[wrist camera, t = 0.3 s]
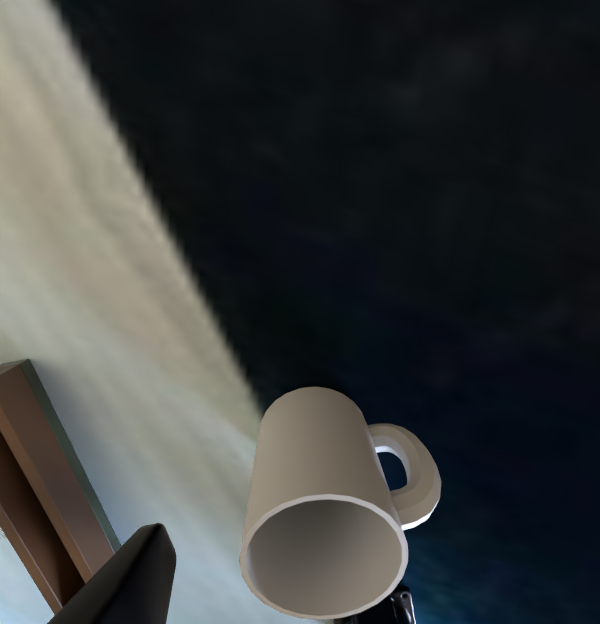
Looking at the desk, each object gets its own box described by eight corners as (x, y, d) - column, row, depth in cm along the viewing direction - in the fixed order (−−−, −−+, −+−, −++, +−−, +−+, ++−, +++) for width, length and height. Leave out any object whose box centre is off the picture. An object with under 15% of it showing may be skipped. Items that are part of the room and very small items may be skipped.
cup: (246, 396, 22) (217, 513, 14) (398, 362, 22) (466, 463, 13) (274, 483, 24) (264, 632, 16) (413, 454, 24) (480, 592, 15)
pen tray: (131, 566, 26) (111, 610, 24) (82, 575, 27) (56, 619, 24) (29, 358, 21) (-12, 381, 18) (-32, 370, 21) (-82, 396, 19)
